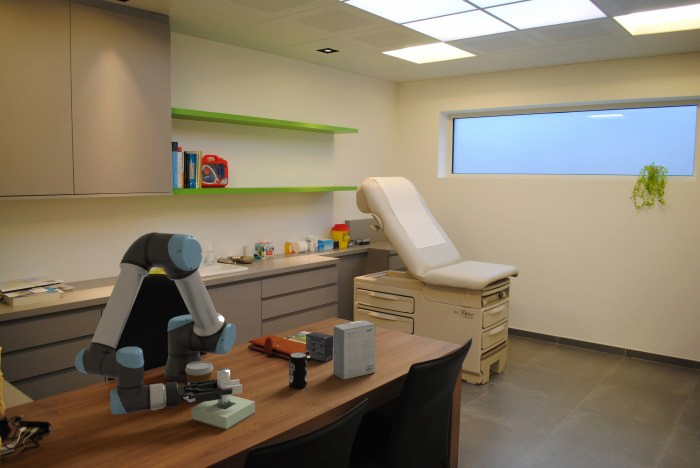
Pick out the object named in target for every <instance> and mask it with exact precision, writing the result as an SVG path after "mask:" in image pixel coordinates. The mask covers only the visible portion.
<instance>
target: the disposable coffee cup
mask: <svg viewBox="0 0 700 468" xmlns="http://www.w3.org/2000/svg"><path fill="white" fill-rule="evenodd" d="M213 370H214V366H213V363H212V362H210V361H206V360H202V361H195V362H191V363H189V364H187V366H186V368H185V371H186V373H187V380H188V381H187V382H195V381H204V380H212V375H213Z"/></svg>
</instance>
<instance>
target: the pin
mask: <svg viewBox="0 0 700 468" xmlns="http://www.w3.org/2000/svg"><path fill="white" fill-rule="evenodd" d="M216 371H217V376H216V377H217V378H216V379H217V388H221V387H224V386H230V380H231V369H230V368H228V367H221V368H218V369H217V370H216ZM229 407H230V395H225V396H222V399H219V400H218V408H221V409H224V410H225V409H227V408H229Z"/></svg>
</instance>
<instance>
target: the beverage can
mask: <svg viewBox="0 0 700 468" xmlns="http://www.w3.org/2000/svg"><path fill="white" fill-rule="evenodd" d="M289 356H290V357H289V360H288V362H289V363H288V372H289V373H288V378H289V379H288V382H289V383H288V385H289V386H290V387H291V388H292V389H296V390H297V389H304V388H305V387H306V386H307V385H308V359H307V357H306V352H302V351H297V352H296V351H295V352H292V353H290V355H289Z"/></svg>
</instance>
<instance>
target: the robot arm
mask: <svg viewBox="0 0 700 468" xmlns="http://www.w3.org/2000/svg"><path fill="white" fill-rule="evenodd" d="M202 253H203V249H202V246H201V243H200V242H199V240H198V239H197V238H196V237H195V236H193V235H190V234H184V233H165V232H164V233H163V232H148V233H145V234H142V235H141V236H139V237H138V238H136V240H134V241H133V242H132V243H131V244H130V246H128V248H127V250H126V251H125V253H124V254H123V256H122V258H121V261H120V263H119V268H120V272H119V274H118V276H117V279H116V281H115V283H114V286H113V288H112V291H111V293H110V296H109V298H108V301H107V304H106V306H105V307H104V310H103V313H102V315H101V318H100V320H99V323H98V325H97V327H96V330H95V332H94V335H93V337H92V339H91V341H90V344H89V346H88V347H87V348H86V347H85V348H83V349H81V350H80V351H79V352H78V353H77V354H76V356H75V359H74V365H75V368H76V370H77V371H79V373H82V374H87V375H88V376H91V375H92V376H99V377H104V378H105V377H106V378H109V379H115V380H116V388H114V389H111V390H110V392H109V393H110V394H109V395H110V396H109V397H110V398H109V399H110V400H109V401H110V402H109V403H110V412H111V414H113V415H122V414H123V415H124V414H126V415H127V414H128V415H129V414H133V413H138V412H139V413H140V412H146V411H154V412H155V411H157V410H161V409H165V408H166V409H171V408H177V407H179V404H180V402H188V405H193V404H198V403H199V404H200V403H203V402H206V401H212V400H219V399H222V396H225V395H232V396H234V395H240V394H243V384H242V383H241V384H240V379H239V378H238V379H230V386H224V387H221V388H217V378H214V379H211V380H204V381H195V382H188V380H187V373H186V371H185V368H186V366H187V364H189V363H191V362H195V361H203V359H202V357H201V354H200V352H201V353H206V354H207V353H208V354H214V355H227V354H228V353H229V352H230V351H231V350H232V348H233V346H234V344H235V340H236V335H237V331H236V326H235V325H234V324H233V323H230V322H229V323H227V322H226V320H225V317H224V315H222V314H221V313H219V312H217V310H216V307H215V306H214V303H213V301H212V298H211V296H210V294H209V292H208V290H207V287H206V285H205V283H204V280H203V278H202V276H201V274H200V271H199V268H200V265H201V264H202V260H203V255H202ZM153 268H159V269H163V271H164V273H165V275H166V277H167V278H168V279H169V280H171V281H174V283H175V285H176V287H177V289H178V291H179V293H180V296H181V297H182V300H183V301H184V304H185V307H186V308H187V310H188V312H189V314H183V315H179V316H174V317H173V318H170V319H169V321H168V324H167V329H166V331H167V345H168V346H167V349H168V351H167V352H168V354H167V355H168V357H167V361H166V363H165V367H164V369H163V377H164V379H165V380H167V381H169V382H166V383H165V384H164V383H162V382H160V383H154V384H153V383H152V384H148V385H147V384H146V385H145V383H144V382H145V379H144V378H145V370H144V369H145V368H144V365H145V360H144V353H143V349H142V348H140V347H139V346H126V347H122V348H119V349H118V350H117V346H118V344H119V341H120V339H121V337H122V333H123V331H124V329H125V326H126V324H127V321H128V319H129V316H130V314H131V311H132V308H133V305H134V303H135V301H136V298H137V296H138V293H139V291H140V289H141V286H142V283H143V280H144V278H145V277H147V276H149V274H150V271H151V270H152V269H153ZM116 350H117V351H116ZM170 381H171V382H170ZM178 382H181V383H182V382H184V385H180V386H179V383H178Z"/></svg>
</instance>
